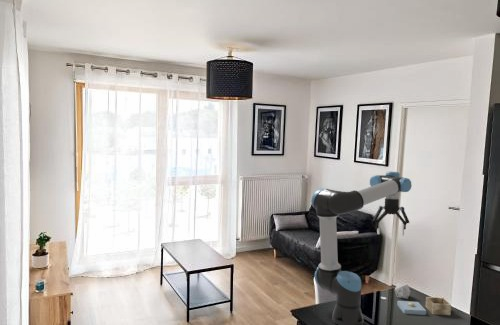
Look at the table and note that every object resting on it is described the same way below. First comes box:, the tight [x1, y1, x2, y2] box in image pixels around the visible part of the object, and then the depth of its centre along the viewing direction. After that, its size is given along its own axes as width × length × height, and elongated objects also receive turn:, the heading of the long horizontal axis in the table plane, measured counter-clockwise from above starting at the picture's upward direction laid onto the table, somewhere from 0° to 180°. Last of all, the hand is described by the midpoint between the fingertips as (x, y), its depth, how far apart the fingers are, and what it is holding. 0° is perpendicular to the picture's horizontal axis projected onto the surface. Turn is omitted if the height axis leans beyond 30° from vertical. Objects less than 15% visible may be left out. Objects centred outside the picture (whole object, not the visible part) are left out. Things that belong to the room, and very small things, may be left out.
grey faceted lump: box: [394, 282, 412, 300], centre depth 211 cm, size 8×9×10 cm
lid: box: [396, 300, 427, 316], centre depth 194 cm, size 11×11×4 cm
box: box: [425, 296, 452, 316], centre depth 194 cm, size 9×9×6 cm
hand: (390, 234), depth 211 cm, fingers open, 13 cm apart
